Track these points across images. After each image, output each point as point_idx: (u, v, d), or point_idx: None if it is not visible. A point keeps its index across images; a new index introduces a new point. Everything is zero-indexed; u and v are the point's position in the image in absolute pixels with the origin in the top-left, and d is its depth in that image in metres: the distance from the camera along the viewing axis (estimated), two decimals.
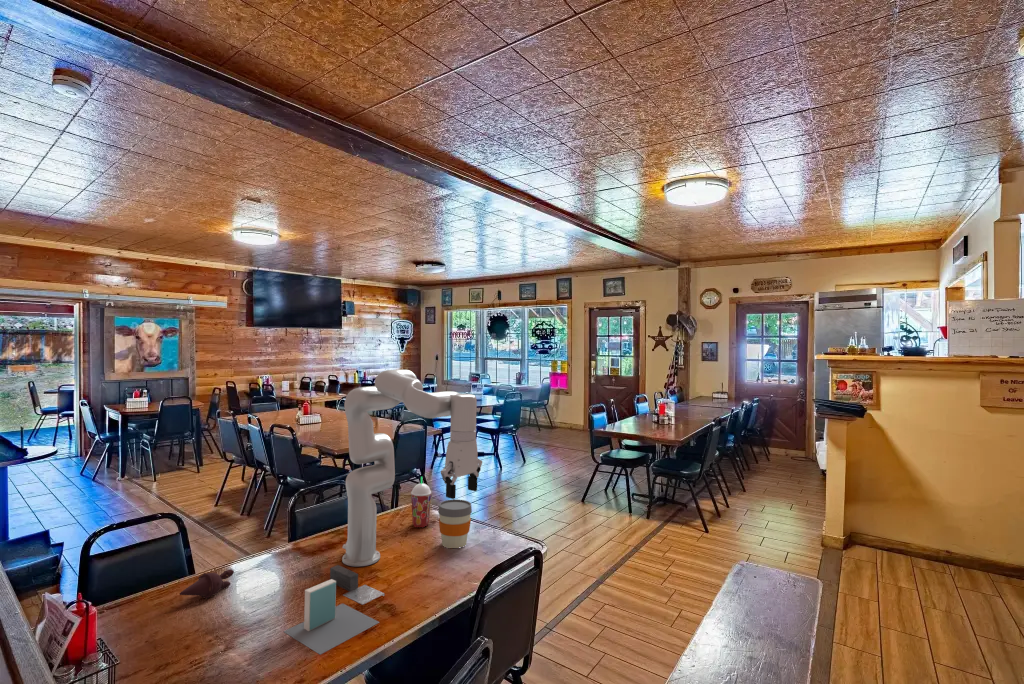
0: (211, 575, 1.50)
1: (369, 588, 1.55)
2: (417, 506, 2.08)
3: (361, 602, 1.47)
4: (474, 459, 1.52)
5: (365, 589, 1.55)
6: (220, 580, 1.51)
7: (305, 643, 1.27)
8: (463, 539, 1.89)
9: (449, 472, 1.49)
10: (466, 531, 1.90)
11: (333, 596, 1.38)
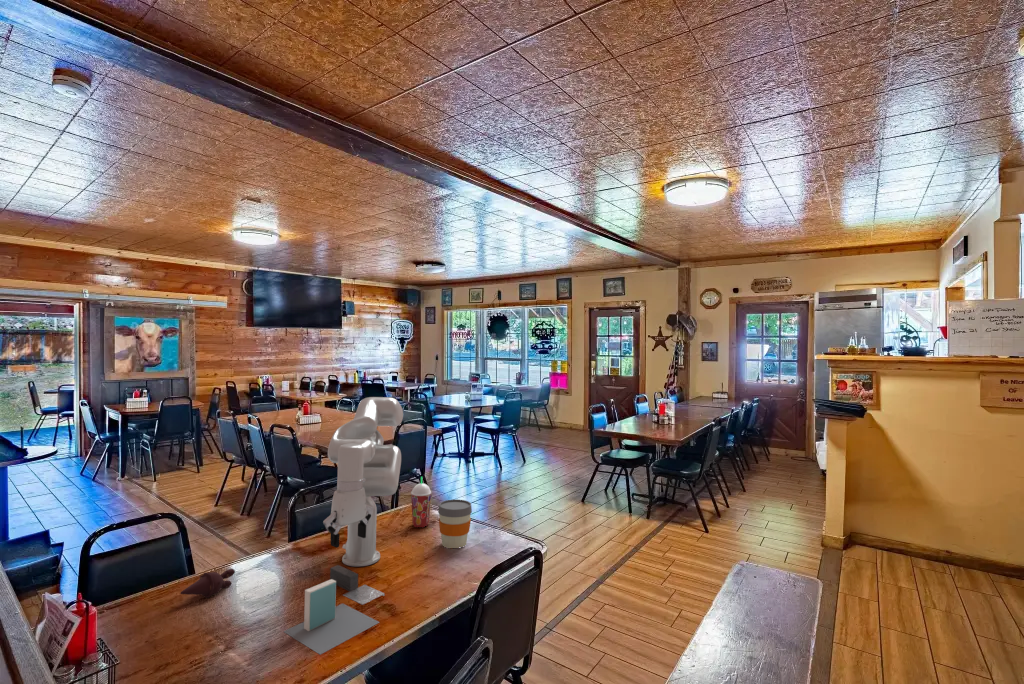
0: (212, 574, 1.50)
1: (369, 588, 1.55)
2: (417, 506, 2.08)
3: (361, 602, 1.47)
4: (361, 507, 1.57)
5: (365, 589, 1.55)
6: (221, 579, 1.51)
7: (305, 643, 1.27)
8: (463, 539, 1.89)
9: (334, 521, 1.53)
10: (466, 531, 1.90)
11: (333, 596, 1.38)
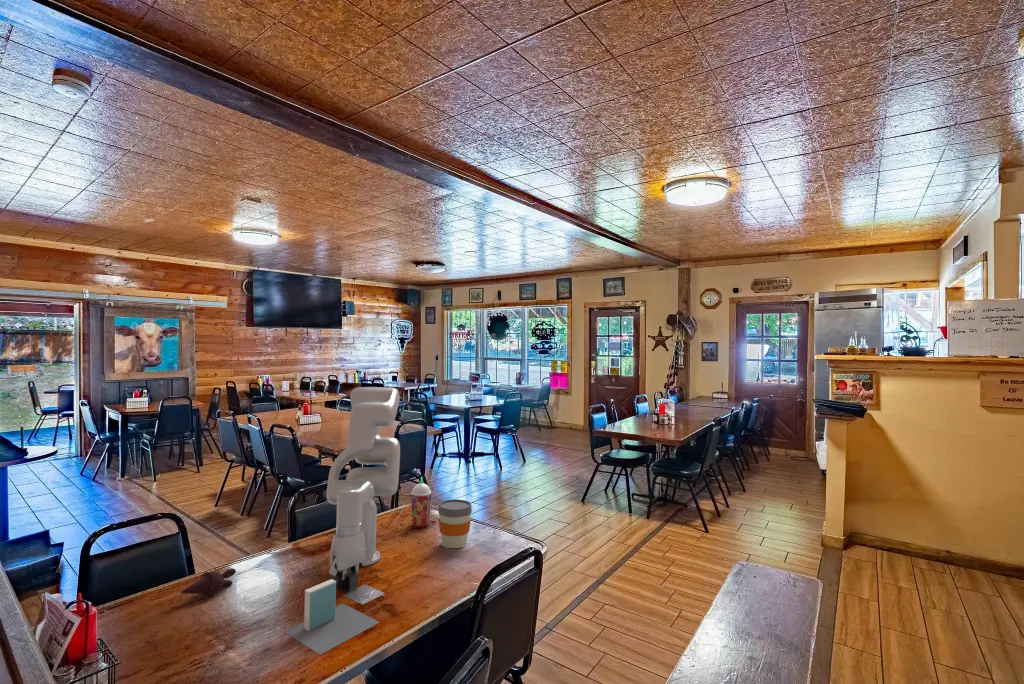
0: (213, 574, 1.51)
1: (369, 588, 1.55)
2: (417, 506, 2.08)
3: (361, 602, 1.47)
4: (360, 550, 1.57)
5: (365, 589, 1.55)
6: (222, 579, 1.52)
7: (305, 643, 1.27)
8: (463, 539, 1.89)
9: None
10: (466, 531, 1.90)
11: (333, 596, 1.38)
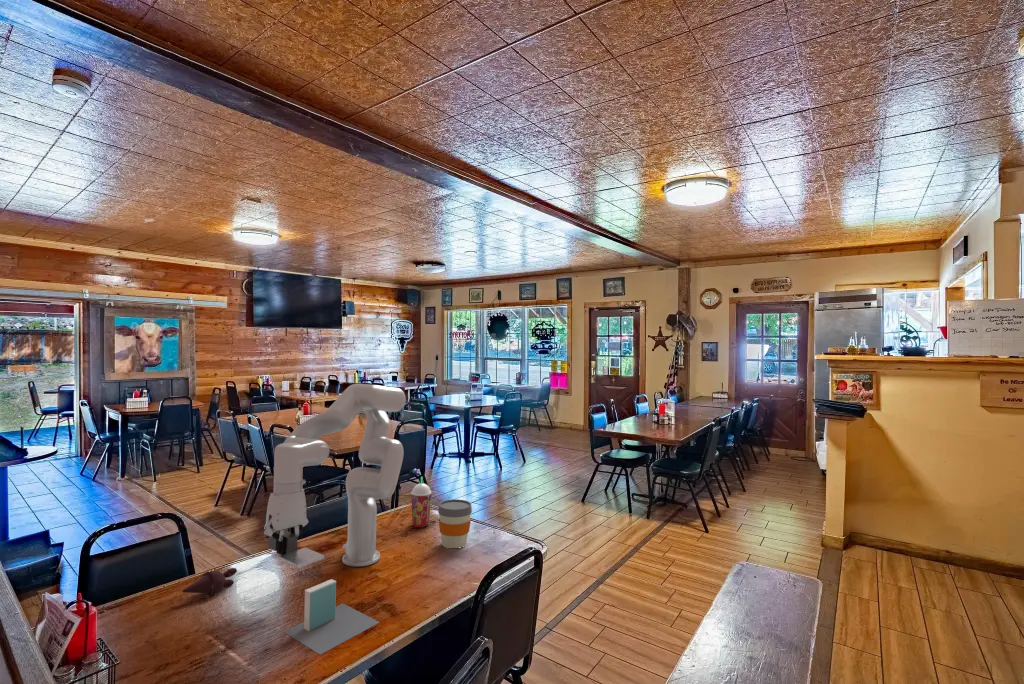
0: (214, 573, 1.51)
1: (309, 550, 1.45)
2: (417, 506, 2.08)
3: (297, 563, 1.37)
4: (300, 511, 1.47)
5: (304, 551, 1.44)
6: (223, 578, 1.52)
7: (305, 643, 1.27)
8: (463, 539, 1.89)
9: None
10: (466, 531, 1.90)
11: (333, 596, 1.38)
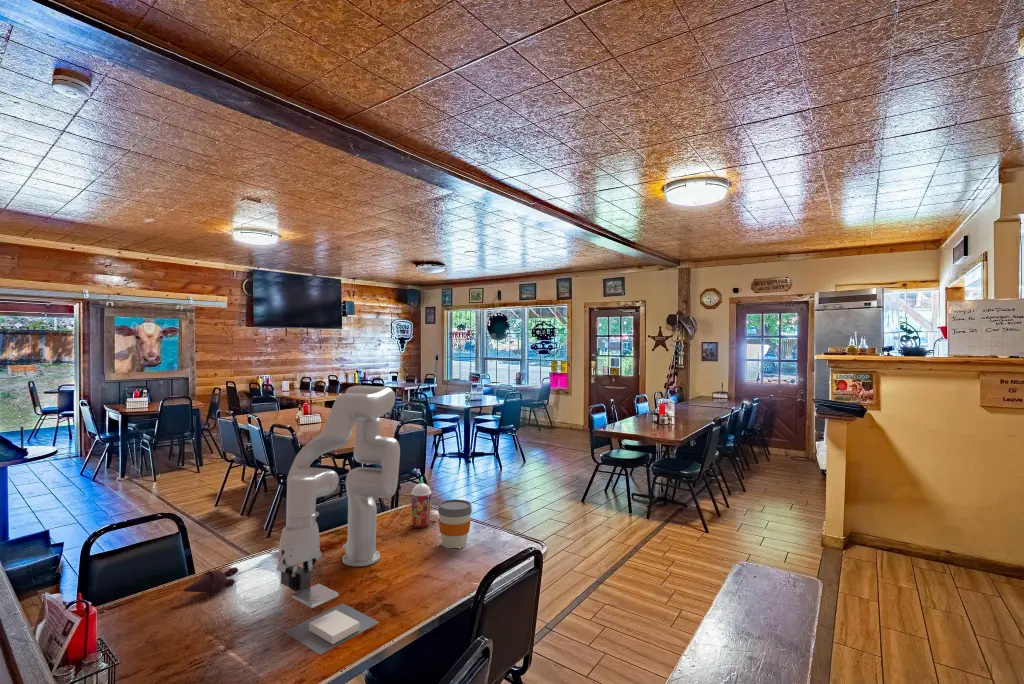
0: (215, 572, 1.52)
1: (323, 587, 1.41)
2: (417, 506, 2.08)
3: (311, 603, 1.33)
4: (314, 544, 1.43)
5: (318, 588, 1.40)
6: (224, 578, 1.52)
7: (305, 643, 1.27)
8: (463, 539, 1.89)
9: None
10: (466, 531, 1.90)
11: None
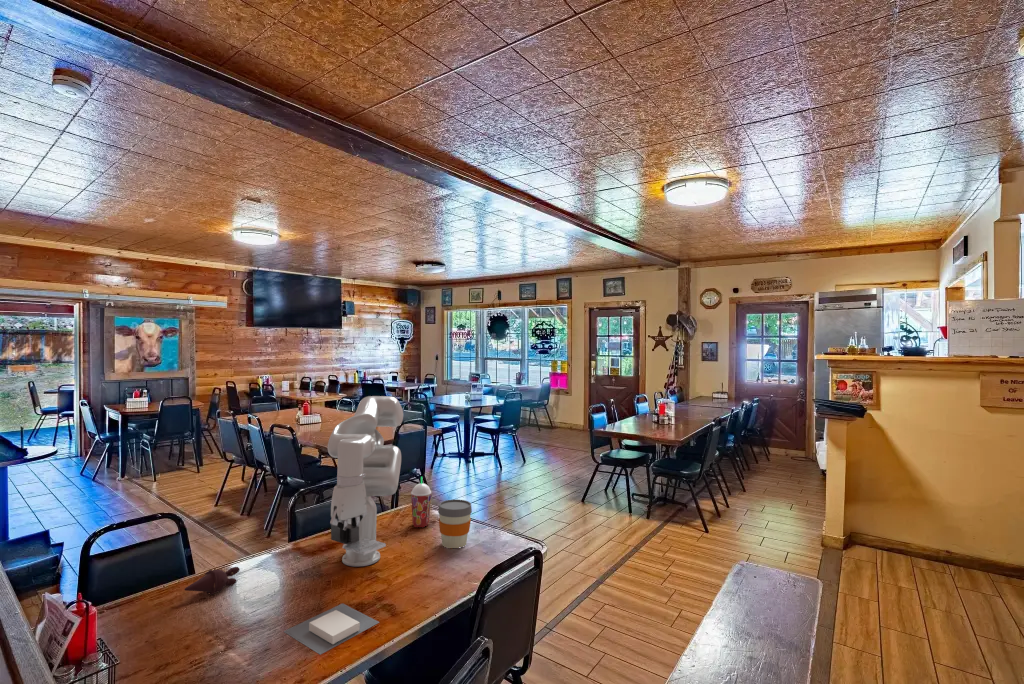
0: (216, 572, 1.52)
1: (370, 540, 1.55)
2: (417, 506, 2.08)
3: (362, 551, 1.47)
4: (361, 502, 1.57)
5: (366, 541, 1.55)
6: (225, 577, 1.53)
7: (305, 643, 1.27)
8: (463, 539, 1.89)
9: None
10: (466, 531, 1.90)
11: None
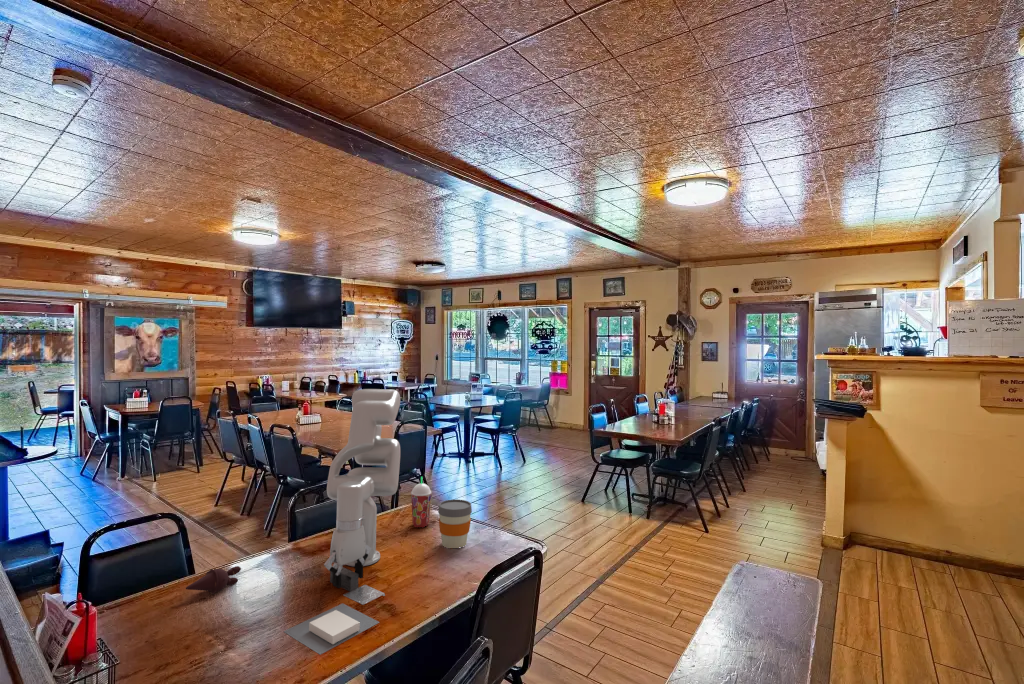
0: (217, 571, 1.52)
1: (369, 588, 1.55)
2: (417, 506, 2.08)
3: (361, 602, 1.47)
4: (360, 545, 1.57)
5: (365, 589, 1.55)
6: (226, 576, 1.53)
7: (305, 643, 1.27)
8: (463, 539, 1.89)
9: (334, 560, 1.54)
10: (466, 531, 1.90)
11: None
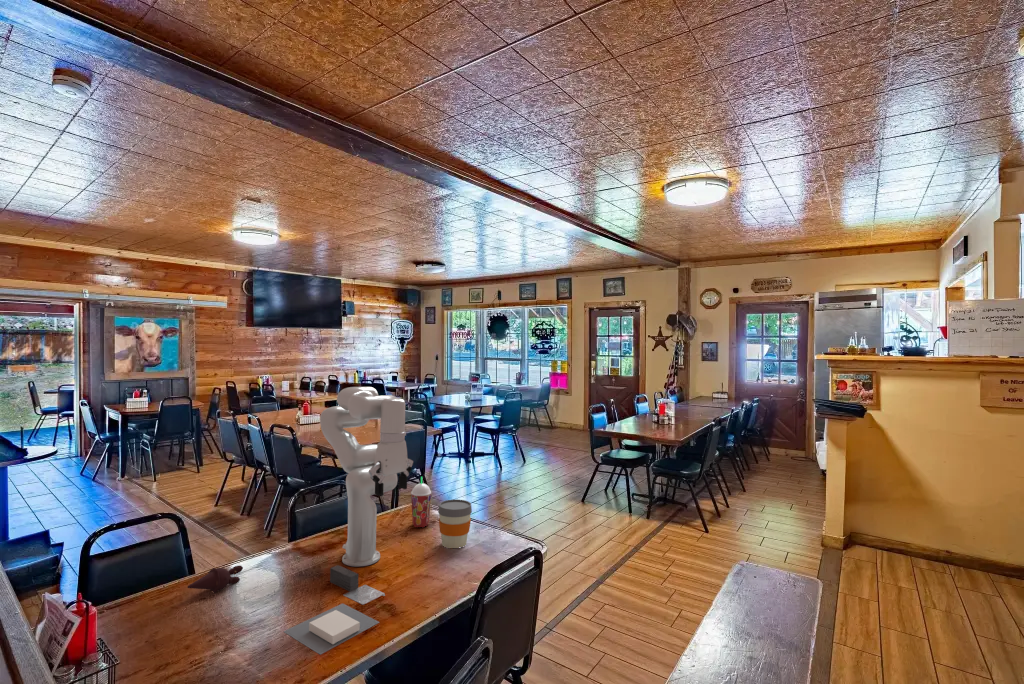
0: (219, 570, 1.53)
1: (369, 588, 1.55)
2: (417, 506, 2.08)
3: (361, 602, 1.47)
4: (403, 459, 1.63)
5: (365, 589, 1.55)
6: (228, 575, 1.54)
7: (305, 643, 1.27)
8: (463, 539, 1.89)
9: (378, 471, 1.59)
10: (466, 531, 1.90)
11: None
